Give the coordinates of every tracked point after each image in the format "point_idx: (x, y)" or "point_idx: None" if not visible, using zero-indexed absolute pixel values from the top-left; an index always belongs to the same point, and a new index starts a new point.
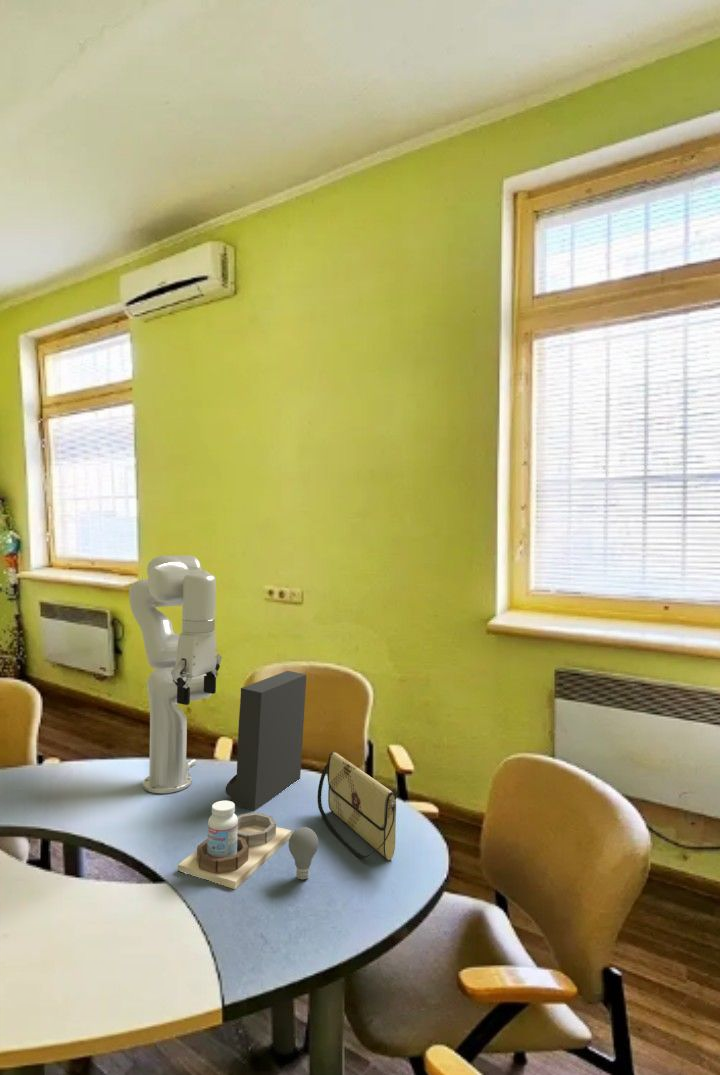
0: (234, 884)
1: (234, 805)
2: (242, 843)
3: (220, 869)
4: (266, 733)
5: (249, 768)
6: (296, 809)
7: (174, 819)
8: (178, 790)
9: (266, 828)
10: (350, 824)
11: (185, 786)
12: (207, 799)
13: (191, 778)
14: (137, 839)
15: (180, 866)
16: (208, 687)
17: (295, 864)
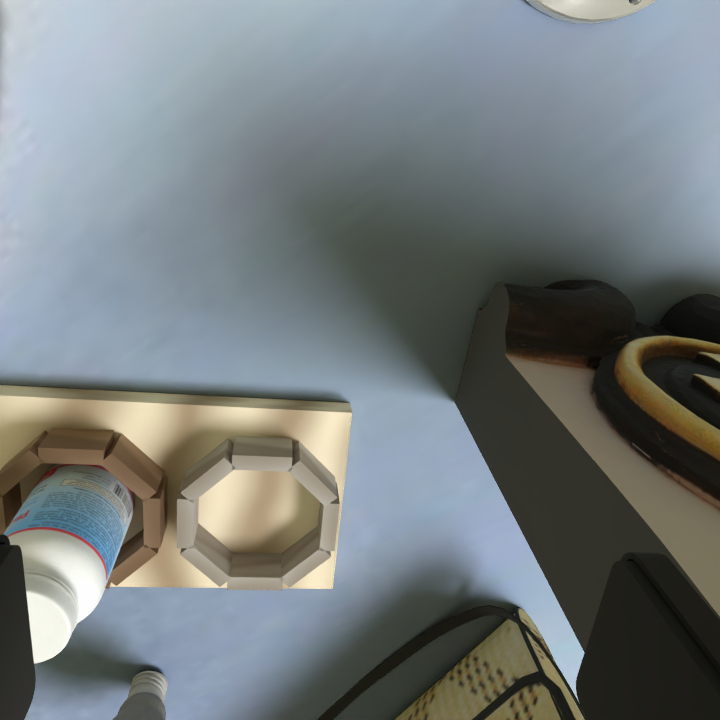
0: None
1: (47, 659)
2: (127, 560)
3: None
4: None
5: (512, 453)
6: (503, 515)
7: (293, 154)
8: (532, 4)
9: (315, 522)
10: (424, 701)
11: (569, 21)
12: (494, 184)
13: (647, 5)
14: (92, 109)
15: None
16: (634, 689)
17: (124, 703)
